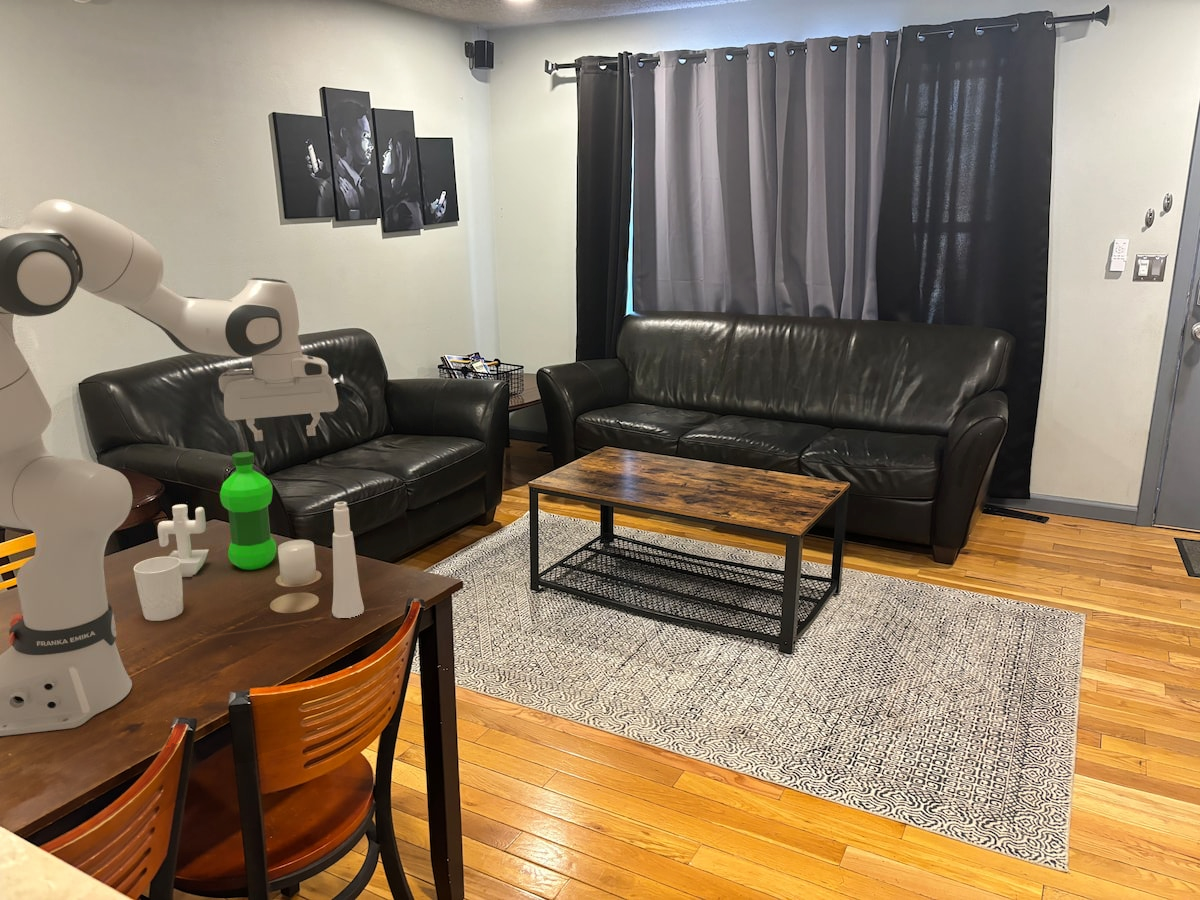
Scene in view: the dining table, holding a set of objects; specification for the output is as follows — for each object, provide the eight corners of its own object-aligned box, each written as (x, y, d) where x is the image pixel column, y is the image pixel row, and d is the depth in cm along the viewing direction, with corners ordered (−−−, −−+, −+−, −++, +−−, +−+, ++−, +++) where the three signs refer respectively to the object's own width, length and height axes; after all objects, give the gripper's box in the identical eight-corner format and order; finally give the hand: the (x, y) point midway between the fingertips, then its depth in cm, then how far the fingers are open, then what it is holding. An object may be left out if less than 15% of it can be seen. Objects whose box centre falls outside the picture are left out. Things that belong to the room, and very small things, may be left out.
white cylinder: (282, 586, 174) (279, 554, 172) (279, 573, 180) (276, 542, 178) (318, 581, 176) (315, 549, 174) (314, 568, 182) (311, 537, 181)
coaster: (277, 592, 172) (277, 589, 172) (274, 575, 180) (273, 572, 180) (324, 584, 176) (324, 582, 176) (318, 568, 184) (318, 566, 184)
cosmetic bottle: (339, 604, 168) (331, 497, 162) (369, 605, 167) (362, 498, 161) (326, 618, 162) (317, 507, 156) (357, 620, 161) (350, 509, 155)
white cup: (168, 625, 158) (161, 574, 156) (130, 620, 160) (123, 570, 157) (195, 606, 166) (189, 558, 163) (159, 602, 167) (153, 554, 165)
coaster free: (272, 619, 161) (271, 616, 161) (268, 599, 169) (268, 597, 169) (322, 610, 165) (321, 607, 165) (316, 592, 173) (315, 589, 172)
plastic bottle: (289, 560, 188) (279, 450, 181) (257, 579, 178) (245, 463, 172) (251, 554, 191) (240, 446, 184) (217, 572, 181) (204, 458, 174)
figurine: (170, 566, 184) (161, 500, 180) (216, 565, 185) (208, 499, 181) (157, 580, 177) (148, 511, 173) (205, 578, 178) (197, 510, 174)
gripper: (217, 373, 153) (226, 448, 157) (336, 365, 161) (342, 436, 165) (216, 367, 158) (225, 439, 162) (331, 359, 166) (337, 428, 170)
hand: (285, 437), depth 163 cm, fingers open, 8 cm apart
